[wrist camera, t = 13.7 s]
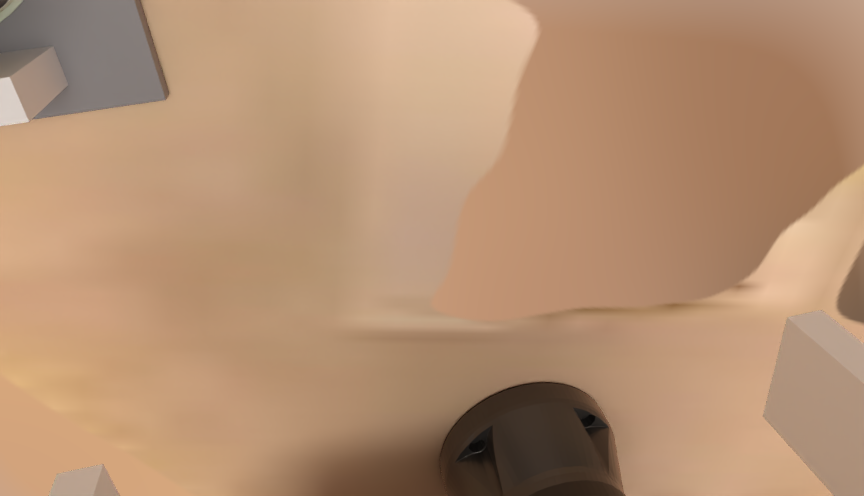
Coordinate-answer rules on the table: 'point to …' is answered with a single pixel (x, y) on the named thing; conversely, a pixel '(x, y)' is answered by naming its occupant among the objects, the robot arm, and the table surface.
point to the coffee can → (4, 4)
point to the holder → (75, 58)
